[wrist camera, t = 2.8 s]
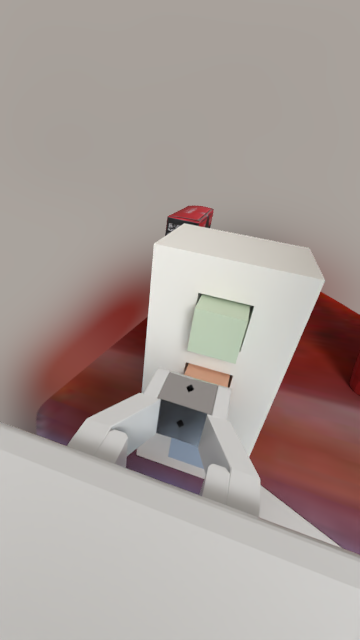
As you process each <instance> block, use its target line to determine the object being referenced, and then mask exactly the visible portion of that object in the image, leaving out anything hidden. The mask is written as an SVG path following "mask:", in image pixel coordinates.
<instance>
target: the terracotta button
mask: <svg viewBox="0 0 360 640" xmlns="http://www.w3.org/2000/svg"><path fill="white" fill-rule="evenodd" d="M184 375H187V376H190V377H193V378H196V379H200V380H203V381H206V382H210V383H213V384H217V385H221V386H225V387H228V383H229V378H230V375H229V374H225V373H222V372H218V371H215V370H211V369H208V368H204V367H201V366H197V365H194V364H190V363H189V364H188V366H187V369H186V371H185V374H184Z"/></svg>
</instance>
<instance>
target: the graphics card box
mask: <svg viewBox="0 0 360 640" xmlns="http://www.w3.org/2000/svg"><path fill="white" fill-rule="evenodd" d="M212 216H213V209H212V208H208V207H203V206H187V207H186V208H184V209H182V210H180V211H178V212H176V213H174V214H172V215H169V216H168V219H167V227H166V234H165V236H166V235H168V234H169V233H171V232H172V231H174V230H175V229H177V228H178V227H180V226H181V225H183V224H184V223H185V224H190V225H195V226H200V227H205V228H210V225H211V221H212Z"/></svg>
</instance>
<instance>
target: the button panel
mask: <svg viewBox="0 0 360 640" xmlns="http://www.w3.org/2000/svg"><path fill="white" fill-rule="evenodd" d="M151 275H152V276H151V287H150V299H149V310H148V311H149V312H148V322H147V335H146V347H145V359H144V371H143V383H142V394H143V393H144V391H145V389H146V388H147V386H148V384H149V382H150V380H151V379H152V377H153V375H154V373H155V372H156V370H157V368H159V367H161V368H164V369H167V370H170V371H174V372H177V373H180V374H183V375H184V374H185V371H186V369H187V366H188V364H189V363H190V364H194V365H197V366H201V367H204V368H208V369H211V370H215V371H218V372H222V373H225V374H229V375H230V378H229V383H228V388H231V396H230V402H229V408H228V414H227V421H230V422H231V424H232V426H233V428H234V430H235V432H236V433H237V435H238V437H239V439H240V441H241V443H242V445H243V447H244V449H245V451H246V453H247V454H248V456H250V454H251V451H252V449H253V447H254V444H255V442H256V440H257V437H258V435H259V433H260V430H261V428H262V426H263V424H264V421H265V419H266V417H267V414H268V412H269V410H270V407H271V405H272V403H273V400H274V398H275V396H276V393H277V391H278V389H279V386H280V384H281V382H282V379H283V377H284V375H285V372H286V370H287V368H288V365H289V363H290V361H291V358H292V356H293V354H294V352H295V349H296V347H297V345H298V342H299V340H300V338H301V335H302V333H303V331H304V328H305V326H306V324H307V321H308V319H309V317H310V314H311V312H312V310H313V307H314V305H315V303H316V300H317V298H318V296H319V293H320V291H321V289H322V287H323V284H324V282H325V279H324V277H323V275H322V273H321V271H320V269H319V267H318V265H317V263H316V261H315V259H314V257H313V255H312V253H311V250H310V248H307V247H301V246H296V245H291V244H286V243H281V242H276V241H271V240H266V239H261V238H256V237H251V236H246V235H241V234H235V233H231V232H226V231H220V230H215V229H210V228H205V227H200V226H195V225H190V224H185V223H184V224H183V225H181V226H180V227H178V228H177V229H175V230H174V231H172V232H171V233H169V234H168V235H166V236H165V237H163V238H162V239H160V240H159V241H157V242H156V243H154V250H153V263H152V274H151ZM202 294H206V295H210V296H214V297H218V298H222V299H226V300H231V301H235V302H239V303H243V304H247V305H250V312H249V319H248V324H247V327H246V330H245V334H244V337H243V340H242V344H241V347H240V350H239V354H238V357H237V360H236V364H234V363H230V362H226V361H223V360H219V359H216V358H212V357H208V356H205V355H201V354H198V353H194V352H190V351H187V349H188V343H189V338H190V332H191V327H192V321H193V316H194V310H195V307H196V305H197V303H198V301H199V299H200V297H201V295H202ZM170 443H171V437H167V436H164V435H161V434H158V433H156V434H155V435H154V436H153V437H151V438H150V439H149V440H147V441H146V442H145V443H143V444H142V445H141V446H139V447H138V448H137V455H138V456H141V457H144V458H147V459H149V460H152V461H155V462H158V463H161V464H163V465H166V466H169V467H172V468H175V469H177V470H180V471H183V472H186V473H189V474H191V475H194V476H197V477H200V478H203V479H205V476H206V474H205V471H204V469H202V468H199V467H196V466H193V465H191V464H188V463H185V462H182V461H179V460H176V459H173V458H171V457H168V454H169V449H170Z"/></svg>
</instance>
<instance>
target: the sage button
mask: <svg viewBox="0 0 360 640" xmlns="http://www.w3.org/2000/svg"><path fill="white" fill-rule="evenodd" d="M249 312H250V305H247V304H243V303H239V302H235V301H231V300H226V299H222V298H218V297H214V296H210V295H206V294H202V295H201V297H200V299H199V301H198V303H197V305H196V307H195V310H194V316H193V321H192V327H191V332H190V338H189V343H188V349H187V351H190V352H194V353H198V354H201V355H205V356H208V357H212V358H216V359H219V360H223V361H226V362H230V363H234V364H236V360H237V357H238V354H239V350H240V347H241V344H242V340H243V337H244V334H245V330H246V327H247V324H248V319H249Z"/></svg>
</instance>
